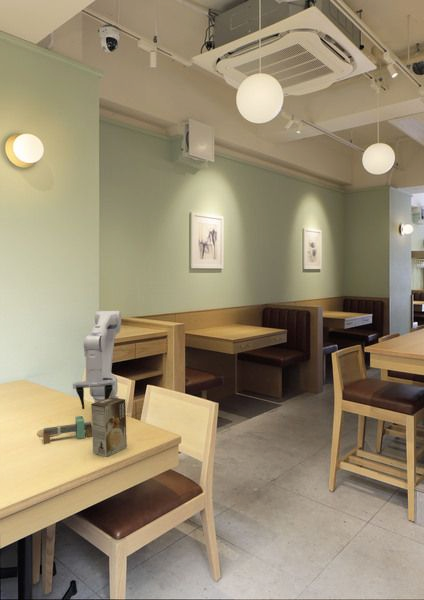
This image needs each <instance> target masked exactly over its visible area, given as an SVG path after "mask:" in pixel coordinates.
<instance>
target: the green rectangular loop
mask: <svg viewBox="0 0 424 600" xmlns="http://www.w3.org/2000/svg"><path fill="white" fill-rule="evenodd" d="M84 423H85V419H84V416H83V415H77V416H75V424H77V431H76V432H75V436H76V439H77V440H79V439H85V437H86V433H85V428H84Z"/></svg>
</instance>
